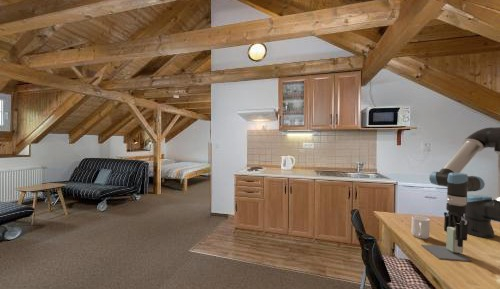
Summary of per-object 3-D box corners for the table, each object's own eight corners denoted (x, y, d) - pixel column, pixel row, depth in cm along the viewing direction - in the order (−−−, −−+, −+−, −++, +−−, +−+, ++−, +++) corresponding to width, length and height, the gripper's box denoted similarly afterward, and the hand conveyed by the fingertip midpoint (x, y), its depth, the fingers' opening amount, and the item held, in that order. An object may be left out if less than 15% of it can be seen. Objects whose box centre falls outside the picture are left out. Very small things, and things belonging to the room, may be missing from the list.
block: (455, 248, 119) (456, 226, 119) (462, 252, 114) (463, 230, 114) (446, 247, 120) (447, 226, 119) (452, 252, 115) (453, 229, 115)
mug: (411, 238, 133) (411, 220, 133) (411, 231, 143) (411, 214, 143) (430, 242, 128) (430, 223, 128) (428, 235, 138) (429, 217, 138)
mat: (449, 247, 123) (450, 246, 123) (471, 261, 109) (471, 260, 109) (421, 245, 125) (421, 244, 125) (438, 259, 111) (438, 257, 111)
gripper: (436, 198, 125) (434, 241, 126) (461, 208, 108) (459, 258, 109) (451, 199, 124) (450, 242, 125) (479, 209, 107) (477, 259, 108)
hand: (454, 249), depth 117 cm, fingers closed on block, 4 cm apart
